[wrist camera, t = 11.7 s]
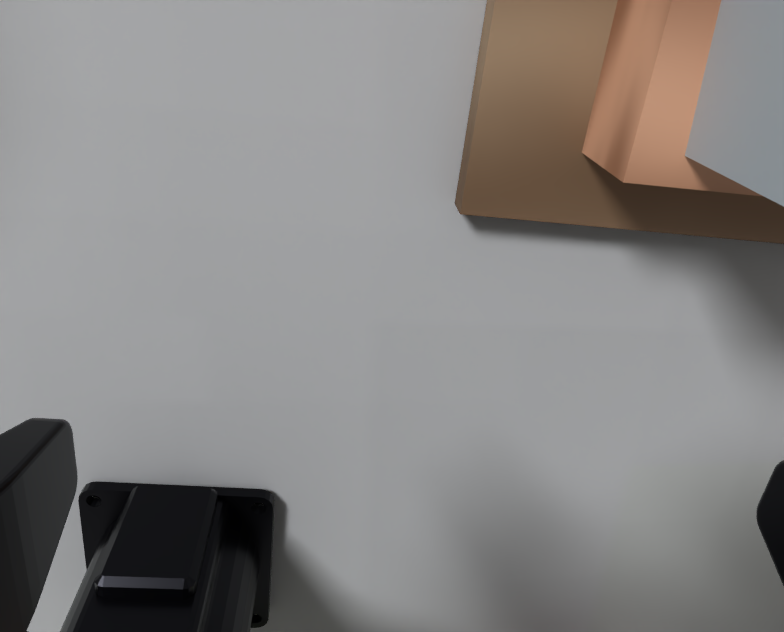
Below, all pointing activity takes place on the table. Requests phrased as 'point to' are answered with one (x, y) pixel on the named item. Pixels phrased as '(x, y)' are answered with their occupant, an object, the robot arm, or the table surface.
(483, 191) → the tower base
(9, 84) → the table surface
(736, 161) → the grey brick
